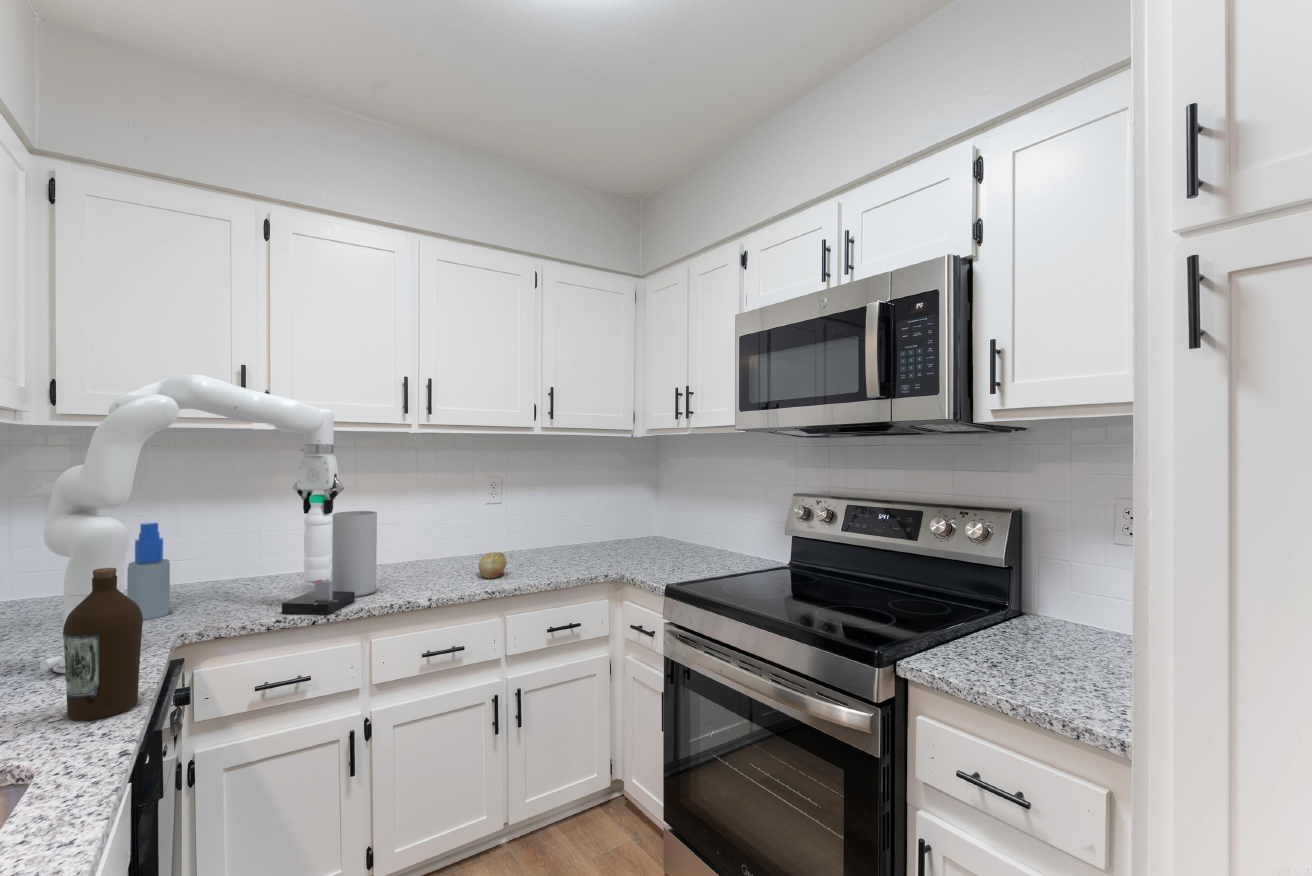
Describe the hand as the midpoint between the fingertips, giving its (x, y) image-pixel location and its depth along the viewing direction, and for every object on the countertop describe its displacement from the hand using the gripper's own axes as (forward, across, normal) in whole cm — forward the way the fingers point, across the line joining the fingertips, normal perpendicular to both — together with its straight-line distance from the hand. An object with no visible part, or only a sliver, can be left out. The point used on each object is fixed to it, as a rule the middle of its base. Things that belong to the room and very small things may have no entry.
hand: (318, 512), depth 182 cm
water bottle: (+20, 0, 0) cm, 20 cm away
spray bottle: (+27, -38, -14) cm, 49 cm away
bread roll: (+27, +38, +43) cm, 64 cm away
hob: (+27, +2, -3) cm, 27 cm away
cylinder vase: (+27, +4, +14) cm, 31 cm away
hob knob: (+24, +6, -7) cm, 25 cm away
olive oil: (+27, +3, -70) cm, 75 cm away
